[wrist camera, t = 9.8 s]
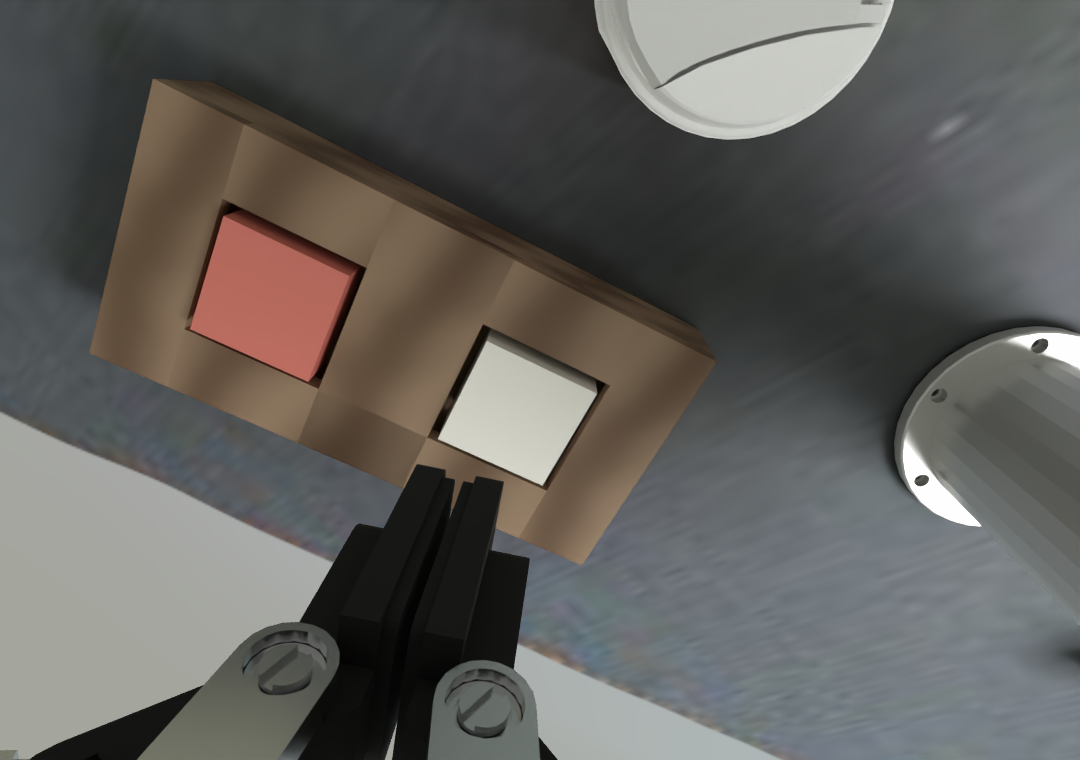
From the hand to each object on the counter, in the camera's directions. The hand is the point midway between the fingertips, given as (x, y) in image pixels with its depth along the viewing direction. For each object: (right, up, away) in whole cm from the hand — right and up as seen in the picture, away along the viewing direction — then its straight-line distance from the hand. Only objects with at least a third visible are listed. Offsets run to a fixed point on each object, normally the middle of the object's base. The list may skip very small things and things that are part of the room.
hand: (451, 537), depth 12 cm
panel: (-5, +6, +24) cm, 26 cm away
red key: (-11, +8, +21) cm, 25 cm away
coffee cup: (+8, +19, +18) cm, 28 cm away
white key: (+1, +2, +23) cm, 23 cm away
